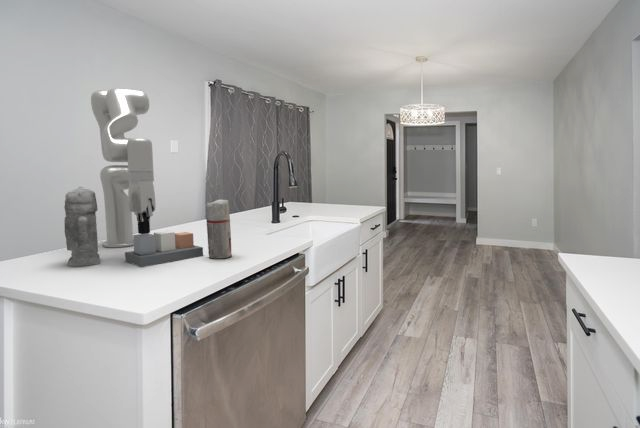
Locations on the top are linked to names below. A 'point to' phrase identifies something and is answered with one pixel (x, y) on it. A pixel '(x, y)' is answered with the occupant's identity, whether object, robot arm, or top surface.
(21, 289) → the top surface
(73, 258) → the figurine
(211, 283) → the top surface
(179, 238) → the terracotta key
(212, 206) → the spray can
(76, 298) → the top surface
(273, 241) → the top surface
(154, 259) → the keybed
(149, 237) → the slate key
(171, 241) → the ivory key
